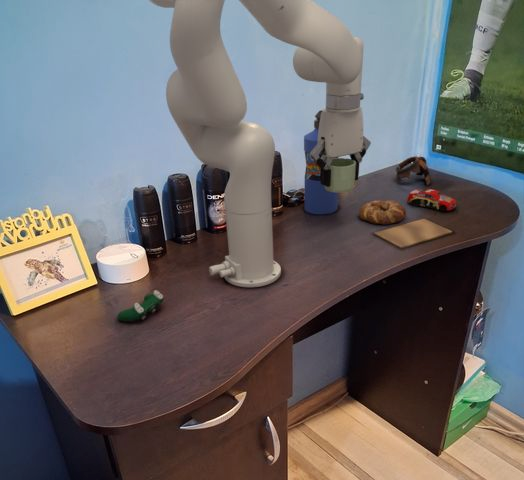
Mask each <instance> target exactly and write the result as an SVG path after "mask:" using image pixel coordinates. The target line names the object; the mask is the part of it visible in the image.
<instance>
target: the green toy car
mask: <svg viewBox="0 0 524 480" xmlns="http://www.w3.org/2000/svg"><path fill="white" fill-rule="evenodd" d="M164 299H165V297H164V295H163V294H162V293H161V292H160V291H159V290H156V289H155V290H154V291H153V292H152V293H147V294H146V295H145V296H144V297H143V302H142V303H140V304H139V302H135V303H134V305H133V306H132V307H131V308H127V309H124V310H121V311H119V313H118V314H117V320H118V321H120V322H134V321H136V320H140V319H141V321H142V320H144V319H146V318H147V316H146V315H147V313H150V312H151V313H154V312H156V311H157V309H156V307H158V306H160V305H161V304H162V303H163V302H164Z"/></svg>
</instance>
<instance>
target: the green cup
mask: <svg viewBox="0 0 524 480" xmlns="http://www.w3.org/2000/svg"><path fill="white" fill-rule="evenodd" d="M325 162H326V161H325ZM329 169H330V170H331V183H330V187H326V186H324V187H325V190H327V191H330V192H335V193H338V194H341V193H342V194H343V193H348V192H352V191H353V190H354V188H355V187H356V180H355V175H356V161H355V160H352V159H351V158H346V157H338V158H333V160H332V162H331V164H330V167H329Z"/></svg>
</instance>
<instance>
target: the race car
mask: <svg viewBox="0 0 524 480" xmlns="http://www.w3.org/2000/svg"><path fill="white" fill-rule="evenodd" d="M407 202H408V203H409V204H412V206H414V207H418V206H419V207H425V208H429V209H434V210H439V211H440V212H441V213H444V212H446V211H453V210H455V209H456V208H457V205H458V204H457V200H456V199H455V198H454V197H450V196H448V195H445V194H444V193H443V192H441V191H439V190H436V189H434V188H433V189H432V188H420V189H413V190H411V191H410V192H409V193H408V196H407Z"/></svg>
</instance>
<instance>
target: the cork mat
mask: <svg viewBox="0 0 524 480" xmlns="http://www.w3.org/2000/svg"><path fill="white" fill-rule="evenodd" d="M452 233H453V231H452V230H450V229H448V228H446V227H444V226H442V225H440V224H437V223H435V222H433V221H431V220H429V219H426V218H421V219H417V220H413V221H410V222H406V223H404V224H399V225H396V226H392V227H390V228H385V229H383V230H379V231H376V232H374V233H373V235H374V236H376V237H378V238H380V239H382V240H384V241H386V242H388V243H389V244H391V245H393V246H395V247H397V248H399V249H406V248H408V247H411V246H415V245H418V244H421V243H424V242H427V241H430V240H431V241H432V240H434V239H437V238H440V237H443V236H446V235H449V234H452Z"/></svg>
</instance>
